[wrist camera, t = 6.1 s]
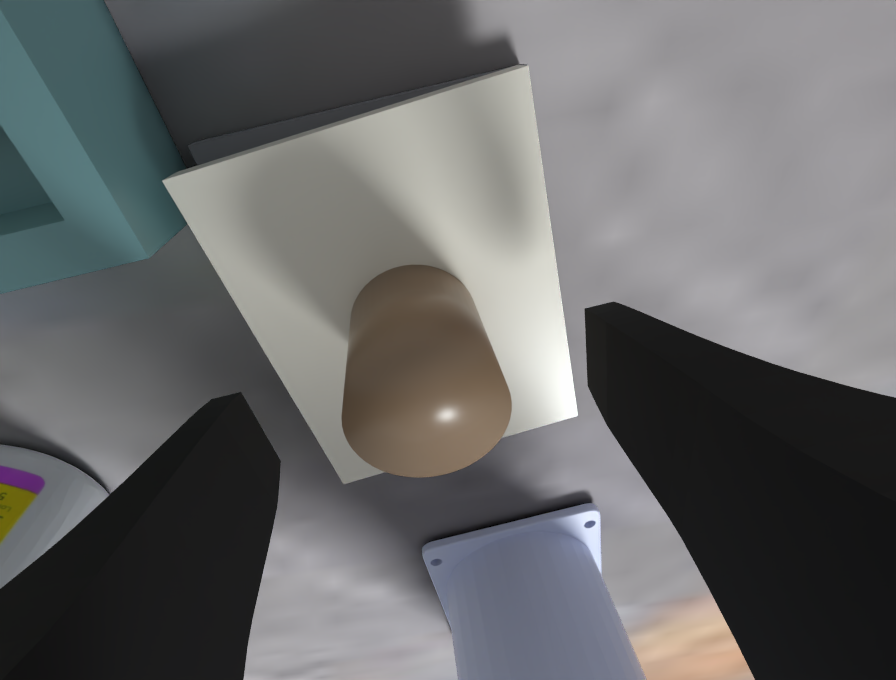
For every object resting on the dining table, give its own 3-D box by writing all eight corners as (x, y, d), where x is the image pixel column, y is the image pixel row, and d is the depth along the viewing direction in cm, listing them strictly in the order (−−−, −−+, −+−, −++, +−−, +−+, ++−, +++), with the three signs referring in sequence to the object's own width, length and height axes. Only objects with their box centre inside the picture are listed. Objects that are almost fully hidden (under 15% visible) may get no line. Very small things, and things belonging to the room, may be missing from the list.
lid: (558, 380, 16) (633, 514, 11) (346, 443, 16) (335, 599, 11) (505, 64, 10) (607, 71, 6) (192, 163, 11) (56, 243, 6)
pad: (550, 382, 16) (556, 393, 16) (333, 435, 16) (332, 447, 16) (520, 64, 11) (527, 64, 10) (195, 141, 11) (187, 145, 10)
